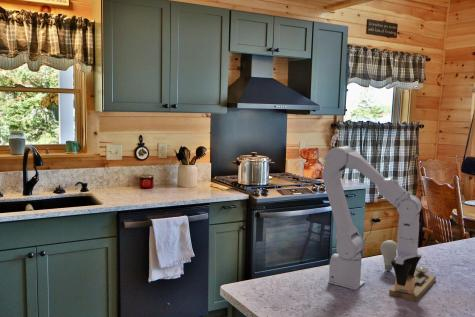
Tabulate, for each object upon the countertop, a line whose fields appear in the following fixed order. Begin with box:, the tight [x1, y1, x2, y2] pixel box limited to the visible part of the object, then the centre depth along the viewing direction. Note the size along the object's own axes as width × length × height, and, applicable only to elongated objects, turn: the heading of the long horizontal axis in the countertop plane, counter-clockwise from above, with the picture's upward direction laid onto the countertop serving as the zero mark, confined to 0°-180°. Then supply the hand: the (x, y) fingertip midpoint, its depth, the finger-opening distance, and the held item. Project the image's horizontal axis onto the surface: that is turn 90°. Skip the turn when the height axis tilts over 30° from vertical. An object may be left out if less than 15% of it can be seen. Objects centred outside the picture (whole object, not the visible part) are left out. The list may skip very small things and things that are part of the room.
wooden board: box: [388, 270, 437, 303], centre depth 142 cm, size 8×22×2 cm, turn 143°
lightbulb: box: [379, 239, 397, 272], centre depth 155 cm, size 6×6×11 cm
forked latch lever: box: [394, 275, 426, 294], centre depth 139 cm, size 5×16×5 cm, turn 143°
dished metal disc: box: [415, 265, 429, 276], centre depth 149 cm, size 4×4×2 cm
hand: (405, 281), depth 134 cm, fingers open, 7 cm apart
